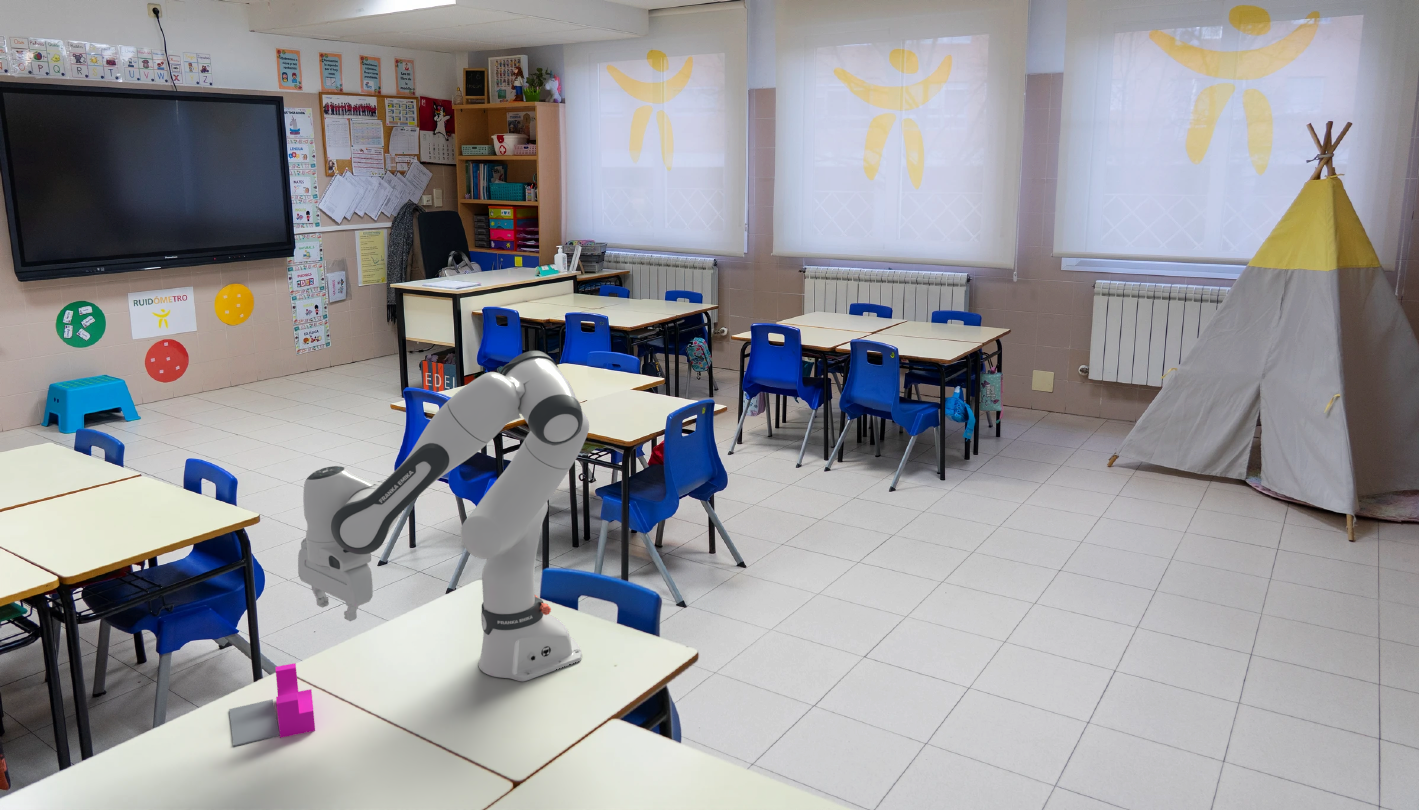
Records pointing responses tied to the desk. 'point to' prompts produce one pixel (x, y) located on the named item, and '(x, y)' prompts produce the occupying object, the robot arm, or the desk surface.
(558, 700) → the desk surface
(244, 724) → the mat
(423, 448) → the robot arm
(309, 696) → the magenta notched part
